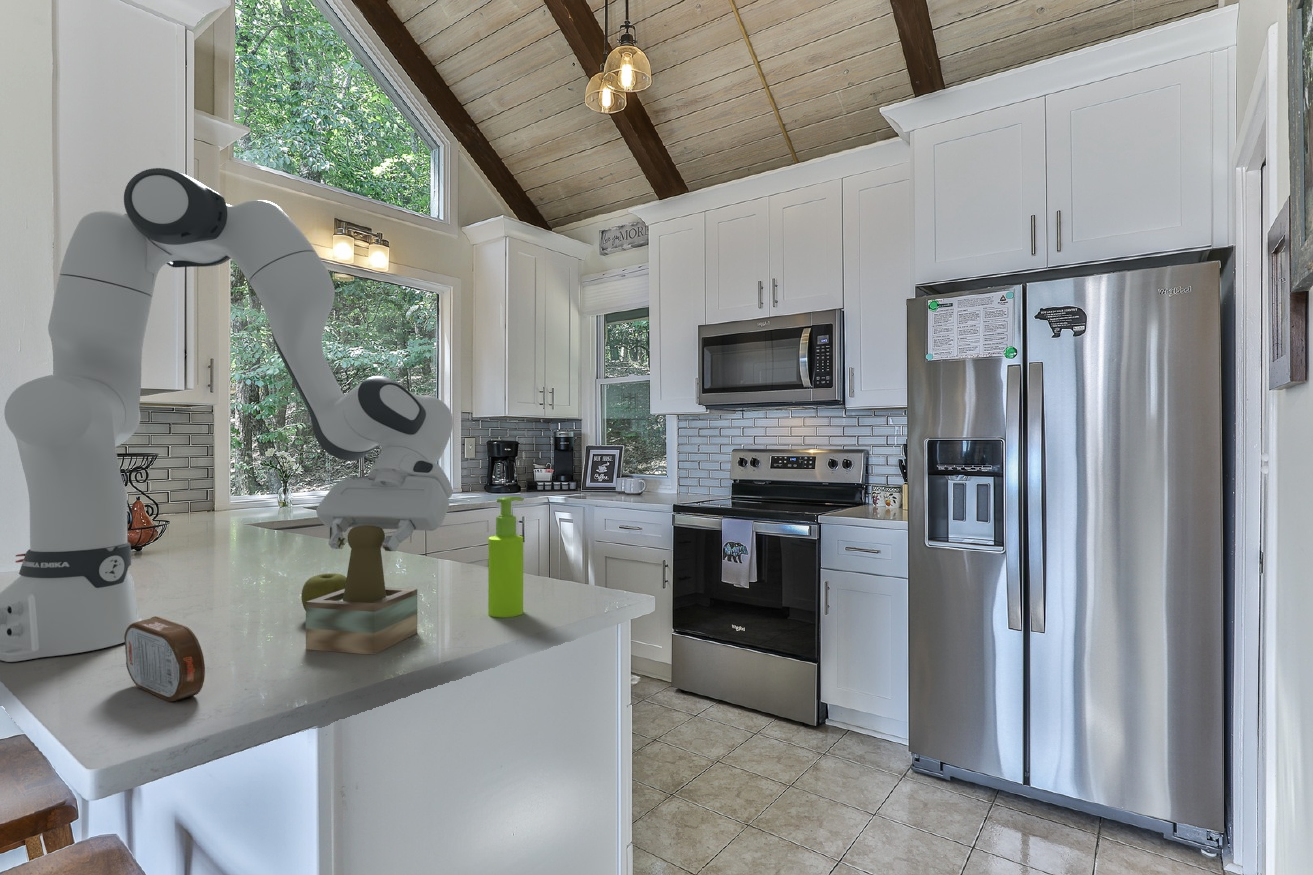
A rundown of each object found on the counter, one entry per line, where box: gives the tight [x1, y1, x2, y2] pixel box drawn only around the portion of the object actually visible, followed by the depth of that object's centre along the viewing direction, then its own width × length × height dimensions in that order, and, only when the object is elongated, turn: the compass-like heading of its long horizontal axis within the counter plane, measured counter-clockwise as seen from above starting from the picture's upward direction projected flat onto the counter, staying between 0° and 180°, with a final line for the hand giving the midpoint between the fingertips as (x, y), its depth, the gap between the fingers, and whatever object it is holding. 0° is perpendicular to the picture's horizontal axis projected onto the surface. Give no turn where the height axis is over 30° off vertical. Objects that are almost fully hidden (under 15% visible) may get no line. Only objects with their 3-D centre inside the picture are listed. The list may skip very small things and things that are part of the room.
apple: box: [301, 573, 347, 612], centre depth 116 cm, size 8×8×7 cm
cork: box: [343, 525, 386, 603], centre depth 104 cm, size 6×6×11 cm
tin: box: [124, 616, 206, 703], centre depth 83 cm, size 15×3×8 cm, turn 58°
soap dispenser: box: [487, 496, 525, 619], centre depth 120 cm, size 6×7×20 cm
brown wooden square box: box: [305, 586, 418, 655], centre depth 103 cm, size 11×11×7 cm
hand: (361, 547), depth 103 cm, fingers open, 8 cm apart
